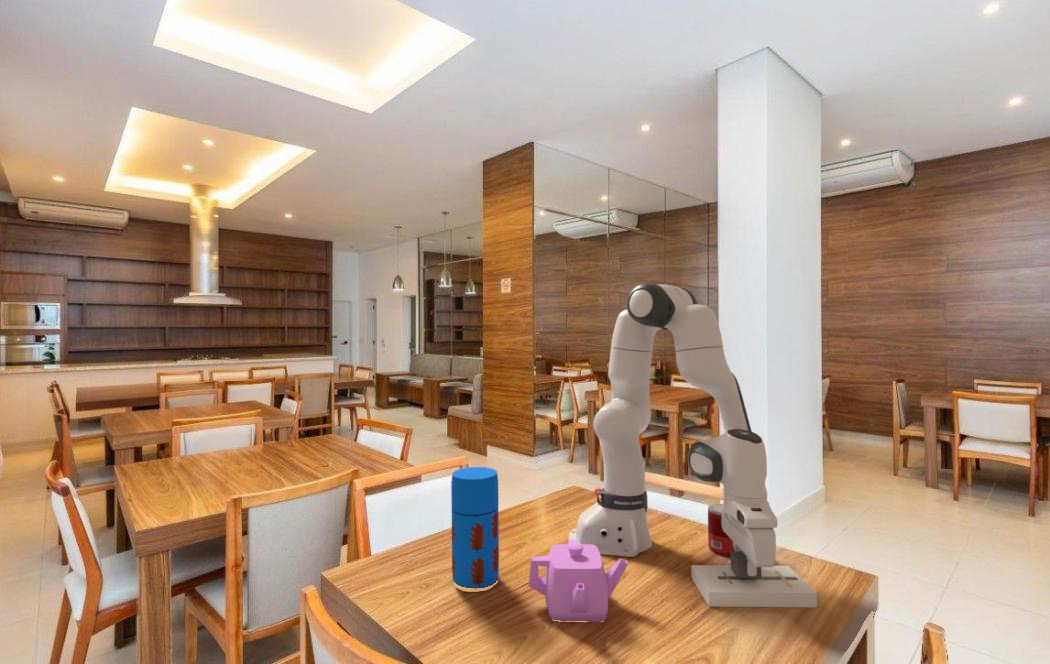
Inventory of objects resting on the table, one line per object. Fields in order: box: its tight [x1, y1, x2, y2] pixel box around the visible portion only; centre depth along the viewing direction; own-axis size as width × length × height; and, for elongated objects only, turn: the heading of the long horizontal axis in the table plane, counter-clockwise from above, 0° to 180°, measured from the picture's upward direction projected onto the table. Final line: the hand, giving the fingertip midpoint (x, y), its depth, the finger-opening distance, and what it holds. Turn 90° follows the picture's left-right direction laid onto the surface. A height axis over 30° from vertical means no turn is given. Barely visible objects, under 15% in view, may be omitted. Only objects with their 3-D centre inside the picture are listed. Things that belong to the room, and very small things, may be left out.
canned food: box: [707, 503, 735, 558], centre depth 130 cm, size 8×8×11 cm
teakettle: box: [528, 538, 629, 623], centre depth 104 cm, size 17×17×12 cm
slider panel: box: [691, 564, 818, 608], centre depth 109 cm, size 22×12×3 cm, turn 88°
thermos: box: [450, 466, 500, 589], centre depth 115 cm, size 11×11×25 cm
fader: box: [730, 551, 761, 578], centre depth 109 cm, size 5×4×5 cm
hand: (745, 568), depth 109 cm, fingers closed on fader, 4 cm apart
